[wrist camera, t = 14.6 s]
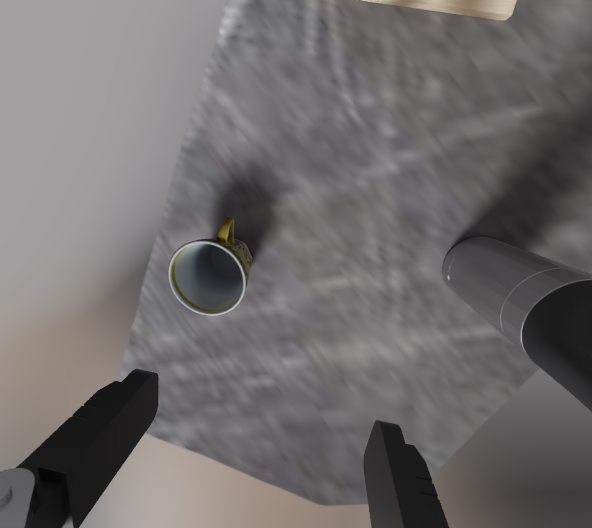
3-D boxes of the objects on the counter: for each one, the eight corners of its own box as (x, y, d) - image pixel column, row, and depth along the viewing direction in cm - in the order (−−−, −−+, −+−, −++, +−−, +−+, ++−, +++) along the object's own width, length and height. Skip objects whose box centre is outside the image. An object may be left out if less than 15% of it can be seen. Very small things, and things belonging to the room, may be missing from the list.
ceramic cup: (250, 295, 45) (231, 327, 36) (194, 272, 45) (159, 298, 35) (278, 223, 41) (265, 237, 32) (216, 197, 41) (184, 203, 31)
